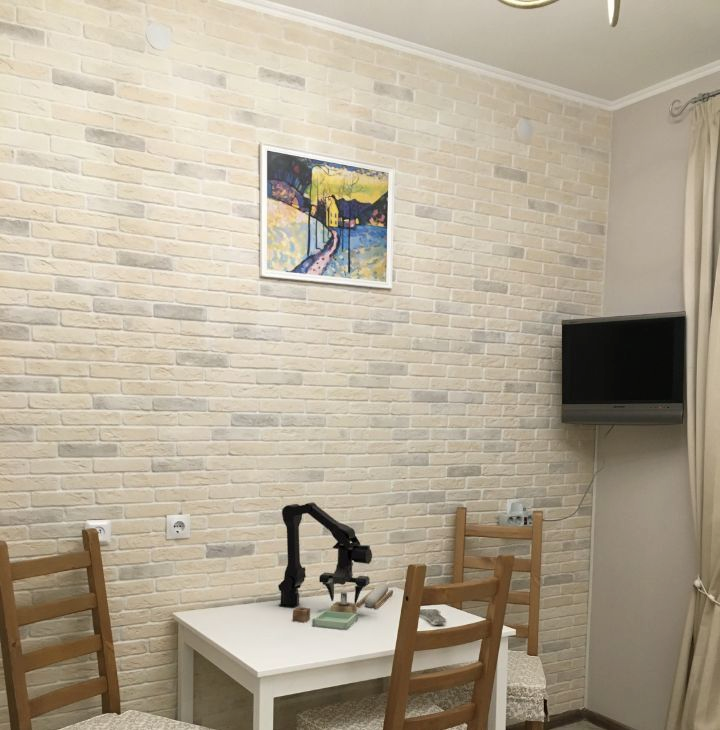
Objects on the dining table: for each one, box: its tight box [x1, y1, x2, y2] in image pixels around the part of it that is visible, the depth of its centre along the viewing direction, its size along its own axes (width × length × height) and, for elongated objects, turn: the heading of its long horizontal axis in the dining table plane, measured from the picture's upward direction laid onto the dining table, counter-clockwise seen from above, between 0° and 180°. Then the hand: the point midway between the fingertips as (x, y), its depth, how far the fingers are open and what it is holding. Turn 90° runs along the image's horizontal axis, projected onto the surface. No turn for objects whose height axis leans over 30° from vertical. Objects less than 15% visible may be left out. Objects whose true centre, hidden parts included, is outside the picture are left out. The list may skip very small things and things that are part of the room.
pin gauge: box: [340, 591, 348, 606], centre depth 300 cm, size 2×2×8 cm
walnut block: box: [292, 606, 311, 623], centre depth 290 cm, size 5×5×4 cm
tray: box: [311, 609, 358, 631], centre depth 286 cm, size 13×13×2 cm
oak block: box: [330, 600, 358, 614], centre depth 300 cm, size 8×8×4 cm
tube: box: [364, 581, 389, 608], centre depth 321 cm, size 5×5×25 cm
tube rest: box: [356, 588, 394, 610], centre depth 321 cm, size 8×26×2 cm, turn 163°
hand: (343, 602), depth 300 cm, fingers open, 9 cm apart
